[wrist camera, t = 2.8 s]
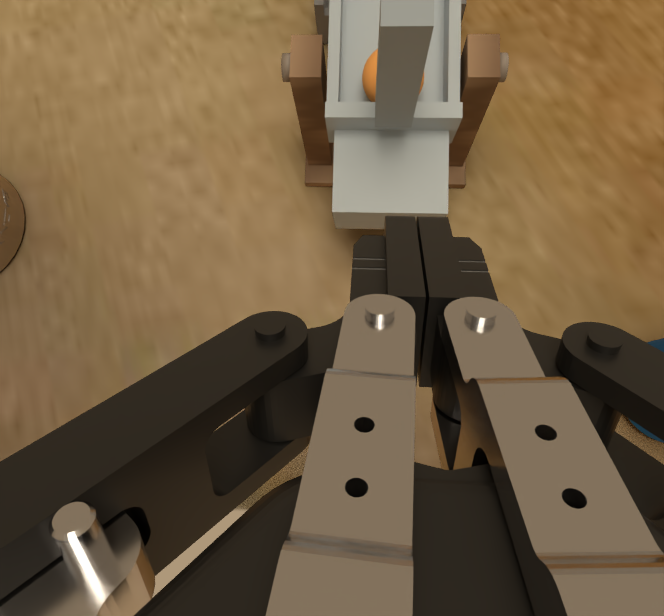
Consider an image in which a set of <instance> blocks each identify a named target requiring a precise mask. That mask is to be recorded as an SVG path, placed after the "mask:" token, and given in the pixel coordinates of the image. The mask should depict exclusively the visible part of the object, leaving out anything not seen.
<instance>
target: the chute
mask: <svg viewBox="0 0 664 616" xmlns="http://www.w3.org/2000/svg"><path fill="white" fill-rule="evenodd" d="M377 49H378V55H377V74H376V95H375V102H371V101H370V100H369V98H368V97H367V95H366V93H365V91H364V88H363V83H362V74H363V69H364V66H365V63H366V61H367V59H368V58H369V57H370V55H371V54H372V53H373V52H374V51H375V50H377ZM460 54H461V0H330V3H329V36H328V70H327V102H325V121H326V128H327V134H328V140H329V143H334V162H333V197H332V214H333V218H334V223H335V227H336V228H340V229H384V222H385V216H415V219H416V218H417V216H421V217H446V216H447V214H448V177H449V143H452V141H453V138H454V136H455V134H456V132H457V129H458V127H459V125H460V122H461V120H462V117H463V102H460ZM423 73H424V84H423V87H422V90H421V92H420V94H419V90H420V86H421V82H422V77H423Z"/></svg>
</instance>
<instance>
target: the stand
mask: <svg viewBox="0 0 664 616" xmlns="http://www.w3.org/2000/svg"><path fill="white" fill-rule="evenodd" d="M508 64H509V57H508V53H500V34H468V35H467V38H466V42H465V45H464V49H463V52H462V55H461V59H460V102H463V117H462V120H461V122H460V125H459V127H458V129H457V132H456V134H455V136H454V138H453V141H452V143H449V177H448V188H464V187H465V185H466V177H465V159H466V157H467V155H468V152H469V150H470V148H471V145H472V143H473V141H474V138H475V136H476V134H477V131H478V129H479V127H480V124H481V122H482V120H483V117H484V115H485V113H486V110H487V108H488V106H489V103H490V101H491V98H492V96H493V94H494V91H495V89H496V87H497V84H498V82H504V81H505V79H506V76H507V72H508ZM281 68H282V78H283V82H290V83H291V87H292V92H293V96H294V101H295V106H296V110H297V115H298V119H299V124H300V128H301V133H302V138H303V142H304V147H305V151H306V168H305V185H306V186H333V162H334V143H329V140H328V134H327V128H326V121H325V102H327V75H326V65H325V56H324V46H323V36H322V35H291V53H283V54H282V61H281Z"/></svg>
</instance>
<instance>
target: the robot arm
mask: <svg viewBox="0 0 664 616" xmlns="http://www.w3.org/2000/svg"><path fill="white" fill-rule="evenodd" d="M24 220H25V215H24V209H23V204H22V201H21V199H20V197H19V195H18V192H17V191H16V190H15V188H14V187H13V186H12V184H11V183H10V182H9V181H7V180H6V179H5V178H4V177H2V176H1V175H0V271H1V270H3V269H4V268H5V267H6V266H7V265H8V263H9V262H10V260H11V259H12V258H13V256H14V255H15V253H16V251H17V249H18V247H19V245H20V243H21V240H22V236H23V231H24ZM417 374H418V379H419V387H432V392H433V399H432V406H431V413H430V414H431V421H432V425H433V430H434V435H435V439H436V444H437V449H438V454H439V458H440V463H441V468H442V469H439V468H435V467H431V466H427V465H424V464H420V463H416V462H414V441H415V396H416V383H417ZM244 408H245V410H244V411H242V412H241V413H240V414H238V415H237V416H235V417H234V418H233V419H231V420H230V421H229V422H227V423H226V424H224V425H223V426H222V427H220V428H219V429H217V428H218V427H219V426H220V425H221V424H223V423H224V422H226V421H227V420H228V419H230V418H231V417H233V416H234V415H235V414H237V413H238V412H240V411H241V410H242V409H244ZM622 414H623V415H624V416H626V417H627V418H629V419H630V420H632V421H634V422H635V423H637V424H638V425H640V426H641V427H643V428H644V429H646V430H647V431H649V432H650V433H652V434H653V435H655V436H657V437H658V438H660V439H661V440H663V441H664V352H662V351H661V350H659V349H657V348H655V347H653V346H651V345H649V344H648V343H646V342H644V341H642V340H640V339H638V338H636V337H635V336H633V335H631V334H629V333H627V332H625V331H623V330H621V329H619V328H616V327H614V326H611V325H607V324H603V323H596V322H582V323H577V324H573V325H571V326H569V327H568V328H566V330H565V331H564V333H563V335H562V339H558V338H553V337H549V336H545V335H541V334H537V333H533V332H530V331H527V330H525V329H523V328H521V325H520V323H519V321H518V319H517V317H516V315H515V314H514V312H513V311H512V310H511V309H510V308H508V307H507V306H505V305H504V304H502V303H500V302H498V299H497V296H496V293H495V290H494V286H493V283H492V280H491V277H490V274H489V273H488V268H487V265H486V263H485V259H484V256H483V253H482V249H481V248H480V247H479V246H478V245H477V244H476V243H475V242H473V241H472V240H471V239H470V238H469V237H453V236H452V232H451V228H450V224H449V220H448V217H421V216H417V218H416V219H415V216H385V222H384V236H379V235H363V236H362V237H361V238H360V239H359V240H358V241H357V242H356V243H355V244H354V248H353V263H352V278H351V293H350V303H349V304H348V305H347V307H346V308H345V311H344V316H343V317H342V318H340V319H339V320H337V321H335V322H333V323H331V324H328V325H325V326H321V327H316V328H311V329H307V327H306V325H305V323H304V322H303V321H302V320H301V319H300V318H299V317H297V316H295V315H293V314H290V313H286V312H281V311H268V312H261V313H257V314H254V315H252V316H249V317H247V318H246V319H244V320H242V321H240V322H239V323H237V324H235V325H234V326H232V327H230V328H228V329H227V330H225V331H223V332H222V333H220V334H218V335H216V336H215V337H213V338H211V339H210V340H208V341H206V342H205V343H203V344H201V345H199V346H198V347H196V348H194V349H193V350H191V351H189V352H187V353H186V354H184V355H182V356H181V357H179V358H177V359H175V360H174V361H172V362H170V363H169V364H167V365H165V366H163V367H162V368H160V369H158V370H157V371H155V372H153V373H151V374H150V375H148V376H146V377H145V378H143V379H141V380H139V381H138V382H136V383H134V384H133V385H131V386H129V387H128V388H126V389H124V390H122V391H121V392H119V393H117V394H116V395H114V396H112V397H110V398H109V399H107V400H105V401H104V402H102V403H100V404H98V405H97V406H95V407H93V408H92V409H90V410H88V411H86V412H85V413H83V414H81V415H80V416H78V417H76V418H74V419H73V420H71V421H69V422H68V423H66V424H64V425H62V426H61V427H59V428H57V429H56V430H54V431H52V432H51V433H49V434H47V435H45V436H44V437H42V438H40V439H39V440H37V441H35V442H33V443H32V444H30V445H28V446H27V447H25V448H23V449H21V450H20V451H18V452H16V453H15V454H13V455H11V456H9V457H8V458H6V459H4V460H3V461H1V462H0V616H664V465H663V464H662V463H660V462H659V461H657V460H656V459H654V458H653V457H651V456H650V455H649V454H647V453H646V452H644V451H643V450H641V449H640V448H638V447H637V446H635V445H634V444H632V443H631V442H630V441H628V440H627V439H625V438H624V437H622V436H621V435H619V434H618V433H616V432H615V429H616V426H617V424H618V422H619V419H620V417H621V415H622ZM216 429H217V430H216ZM214 430H216V431H215V432H214ZM309 442H310V444H309ZM308 444H309V448H308V453H307V457H306V462H305V466H304V471H303V475H301V476H299V477H296V478H294V479H291V480H289V481H287V482H285V483H283V484H281V485H280V486H278V487H276V488H274V489H273V490H271V491H270V492H269V493H267V494H266V495H264V496H263V497H262V498H261V499H260V500H258V501H257V502H256V503H255V504H254V505H253V506H252V507H251V508H250V509H248V510H247V511H246V512H245V513H244V514H243V515H242V516H241V517H240V518H239V519H238V520H237V521H235V522H234V523H233V524H232V525H231V526H230V527H229V528H228V529H227V530H226V531H225V532H224V533H223V534H222V535H220V536H219V537H218V538H217V539H216V540H215V541H214V542H213V543H212V544H211V545H209V546H208V547H207V548H206V549H205V550H204V551H203V552H202V553H201V554H200V555H199V556H198V557H197V558H195V559H194V560H193V561H192V562H191V563H190V564H189V565H188V566H187V567H186V568H185V569H184V570H182V571H181V572H180V573H179V574H178V575H177V576H176V577H175V578H174V579H173V580H172V581H171V582H170V583H168V584H167V585H166V586H165V587H164V588H163V589H162V590H161V591H160V592H159V593H158V594H156V595H155V596H154V597H153V598H152V596H153V593H154V587H155V575H157V574H158V573H159V572H160V571H161V570H162V569H164V568H165V567H166V566H167V565H168V564H170V563H171V562H172V561H173V560H174V559H176V558H177V557H178V556H179V555H180V554H181V553H183V552H184V551H185V550H186V549H187V548H189V547H190V546H191V545H192V544H193V543H194V542H196V541H197V540H198V539H199V538H200V537H202V536H203V535H204V534H205V533H206V532H207V531H209V530H210V529H211V528H212V527H213V526H215V525H216V524H217V523H218V522H219V521H220V520H222V519H223V518H224V517H225V516H226V515H228V514H229V513H230V512H231V511H232V510H233V509H235V508H236V507H237V506H238V505H239V504H241V503H242V502H243V501H244V500H245V499H246V498H248V497H249V496H250V495H251V494H252V493H253V492H255V491H256V490H257V489H258V488H259V487H261V486H262V485H263V484H264V483H265V482H266V481H268V480H269V479H270V478H271V477H272V476H274V475H275V474H276V473H277V472H278V471H279V470H281V469H282V468H283V467H284V466H285V465H287V464H288V463H289V462H290V461H291V460H292V459H294V458H295V457H296V456H297V455H298V454H299V453H301V452H302V451H303V450H304V449H305V448H306V447H307V445H308Z"/></svg>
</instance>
